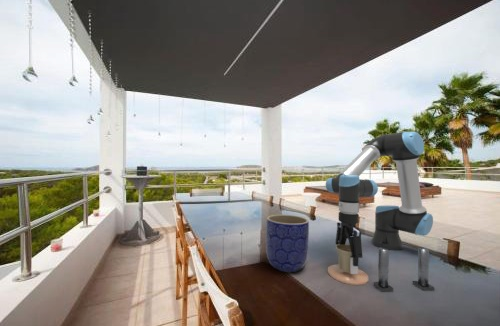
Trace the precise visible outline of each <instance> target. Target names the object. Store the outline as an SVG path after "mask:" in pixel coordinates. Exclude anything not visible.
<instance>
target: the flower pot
mask: <svg viewBox="0 0 500 326" xmlns="http://www.w3.org/2000/svg"><path fill="white" fill-rule="evenodd" d="M334 248H335V249H336V252H337V258H338V259H337V260H339V263H338V265H339V268H340V269H341V270H343V271H345V272H350V256H352V254H351V249H350V244H347V243H345V244H344V245H340V244H338V245H337V244H335V247H334Z"/></svg>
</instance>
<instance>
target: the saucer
mask: <svg viewBox="0 0 500 326" xmlns="http://www.w3.org/2000/svg"><path fill="white" fill-rule="evenodd" d="M327 275H328V276H329V277H330V278H332V279H333V280H335V281H337V282H339V283H343V284H346V285H351V286H364V285H365V284H367V283H369V275H368V274H367V273H366V272H365V271H363V270H361V269H359V268H358V274H350V272H345V271H343V270H341V269H340V268H339V264H332V265H330V266H328V268H327Z"/></svg>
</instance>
